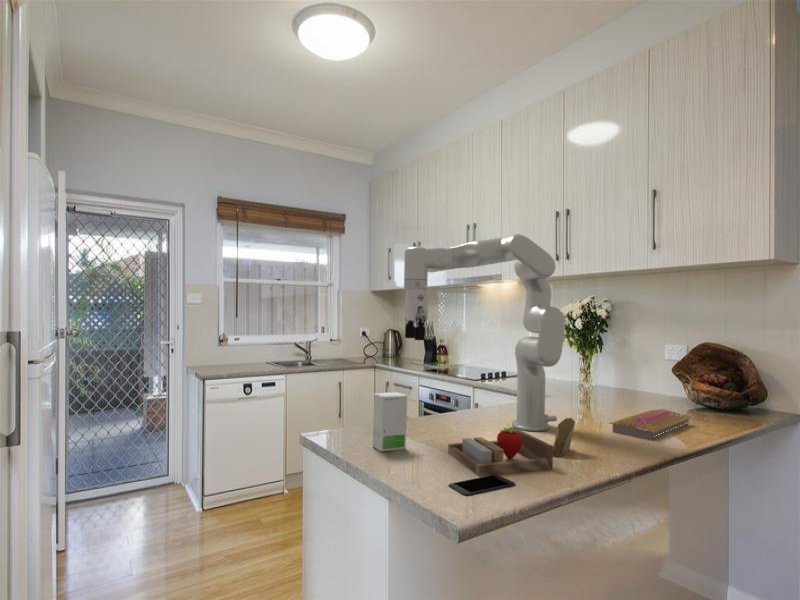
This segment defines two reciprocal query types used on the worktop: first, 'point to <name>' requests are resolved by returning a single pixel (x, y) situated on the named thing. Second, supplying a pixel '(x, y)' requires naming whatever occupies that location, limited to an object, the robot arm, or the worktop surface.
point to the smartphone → (481, 485)
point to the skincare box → (389, 421)
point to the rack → (531, 449)
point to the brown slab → (647, 419)
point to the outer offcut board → (476, 451)
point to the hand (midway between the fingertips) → (414, 339)
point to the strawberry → (509, 442)
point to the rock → (563, 437)
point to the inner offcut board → (492, 449)
